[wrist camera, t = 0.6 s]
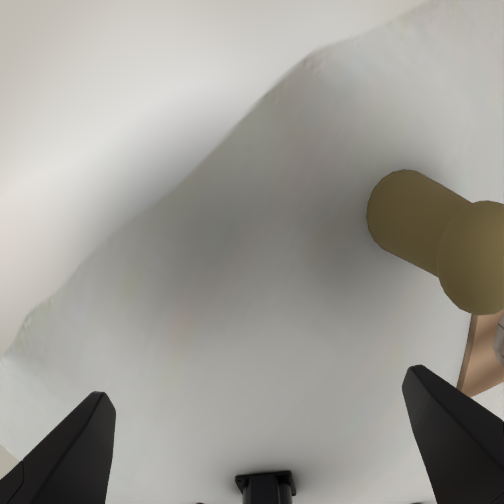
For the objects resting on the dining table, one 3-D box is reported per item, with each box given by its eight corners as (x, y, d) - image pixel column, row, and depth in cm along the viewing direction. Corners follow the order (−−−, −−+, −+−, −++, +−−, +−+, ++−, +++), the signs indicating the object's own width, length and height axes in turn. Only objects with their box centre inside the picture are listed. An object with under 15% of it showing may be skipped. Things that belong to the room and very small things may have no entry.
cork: (412, 151, 19) (528, 170, 8) (452, 217, 20) (557, 273, 10) (349, 208, 20) (433, 272, 10) (396, 270, 22) (479, 359, 11)
